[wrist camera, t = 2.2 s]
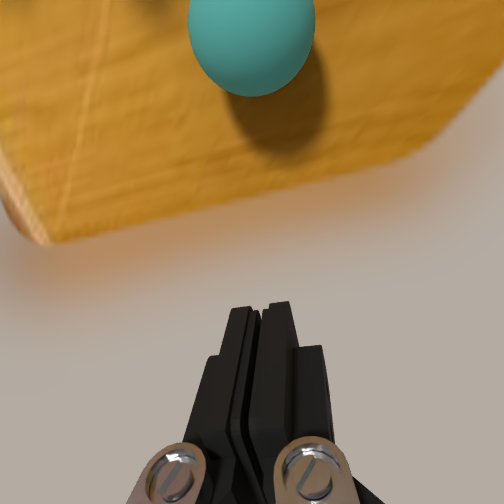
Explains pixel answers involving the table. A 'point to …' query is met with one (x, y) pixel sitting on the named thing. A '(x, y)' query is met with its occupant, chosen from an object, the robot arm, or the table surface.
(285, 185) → the table surface
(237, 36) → the ball
